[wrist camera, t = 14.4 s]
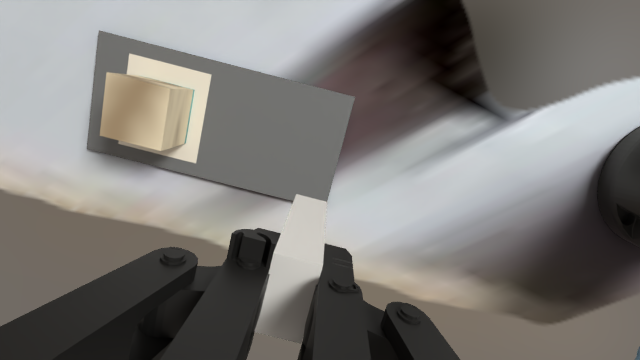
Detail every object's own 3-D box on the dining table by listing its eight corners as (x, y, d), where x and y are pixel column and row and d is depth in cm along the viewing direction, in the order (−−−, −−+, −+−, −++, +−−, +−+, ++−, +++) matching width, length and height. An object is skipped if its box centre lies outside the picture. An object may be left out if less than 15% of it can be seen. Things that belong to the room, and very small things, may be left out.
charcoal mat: (354, 97, 39) (355, 97, 39) (325, 207, 42) (324, 209, 42) (102, 31, 39) (98, 30, 38) (90, 148, 42) (86, 148, 41)
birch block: (106, 72, 33) (140, 75, 39) (99, 135, 35) (133, 129, 41) (170, 88, 33) (194, 89, 39) (160, 151, 35) (185, 143, 41)
